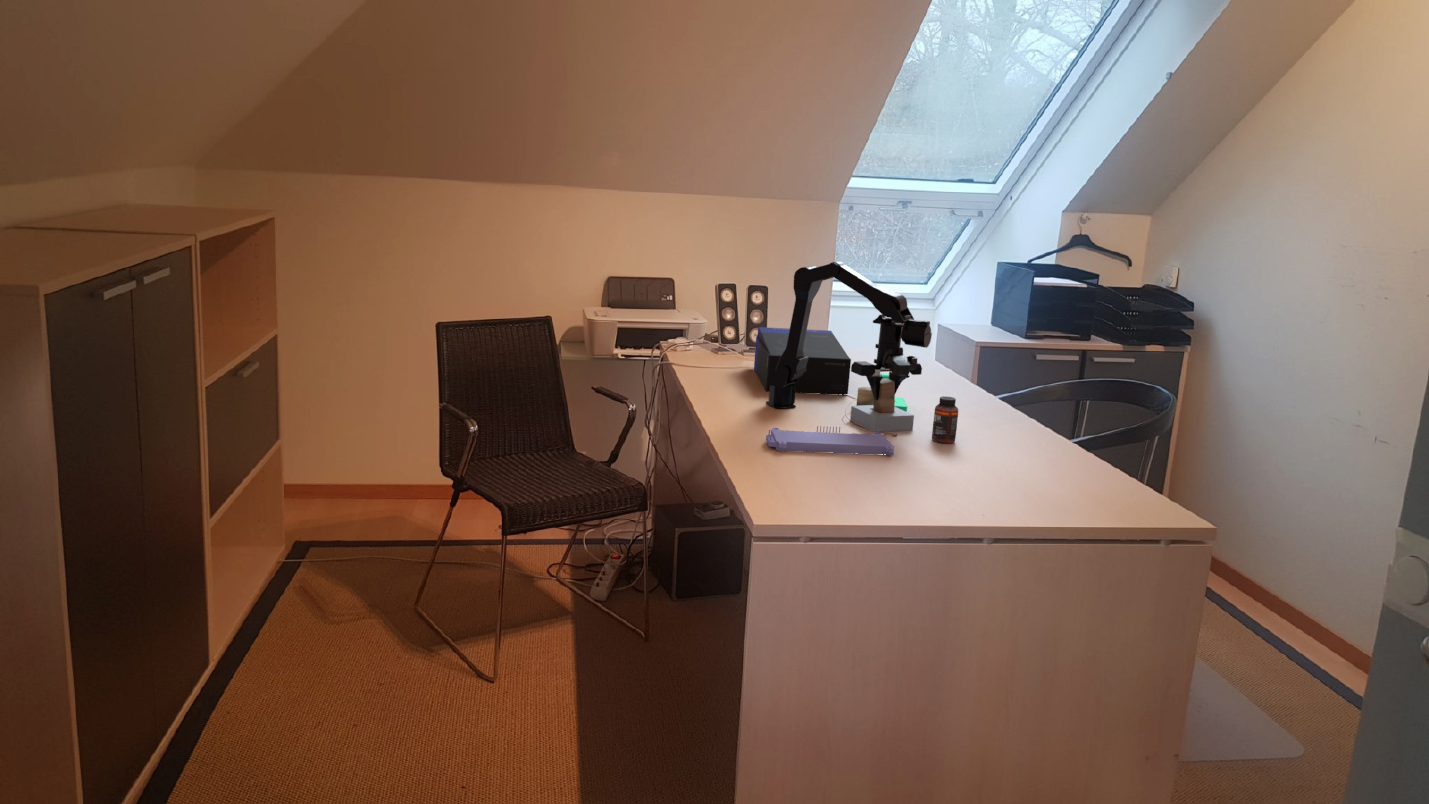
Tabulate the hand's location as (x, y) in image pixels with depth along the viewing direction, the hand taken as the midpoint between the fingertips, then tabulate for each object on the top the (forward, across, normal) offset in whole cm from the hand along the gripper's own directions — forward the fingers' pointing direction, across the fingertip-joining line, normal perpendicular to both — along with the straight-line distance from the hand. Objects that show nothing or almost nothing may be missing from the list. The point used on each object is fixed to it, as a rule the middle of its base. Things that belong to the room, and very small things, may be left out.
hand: (883, 399), depth 279 cm
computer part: (+8, -25, -16) cm, 31 cm away
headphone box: (+8, +3, +54) cm, 54 cm away
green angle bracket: (+7, +13, +15) cm, 21 cm away
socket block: (+7, 0, 0) cm, 7 cm away
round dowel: (+7, +5, +16) cm, 18 cm away
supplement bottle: (+7, +8, -17) cm, 20 cm away
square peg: (+4, 0, 0) cm, 4 cm away
